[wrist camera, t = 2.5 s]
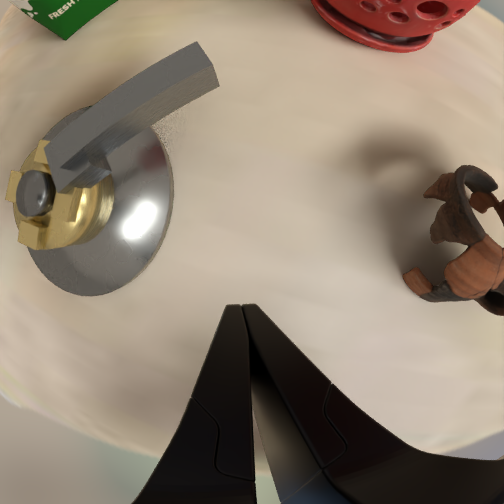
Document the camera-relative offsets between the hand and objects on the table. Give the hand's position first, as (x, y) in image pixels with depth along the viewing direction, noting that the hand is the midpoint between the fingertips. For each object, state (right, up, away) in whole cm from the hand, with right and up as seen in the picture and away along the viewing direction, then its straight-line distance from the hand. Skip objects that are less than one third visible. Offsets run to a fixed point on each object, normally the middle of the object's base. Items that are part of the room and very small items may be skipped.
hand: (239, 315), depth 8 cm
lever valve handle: (-9, +8, +10) cm, 15 cm away
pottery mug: (+16, +2, +11) cm, 20 cm away
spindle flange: (-13, +6, +12) cm, 18 cm away
